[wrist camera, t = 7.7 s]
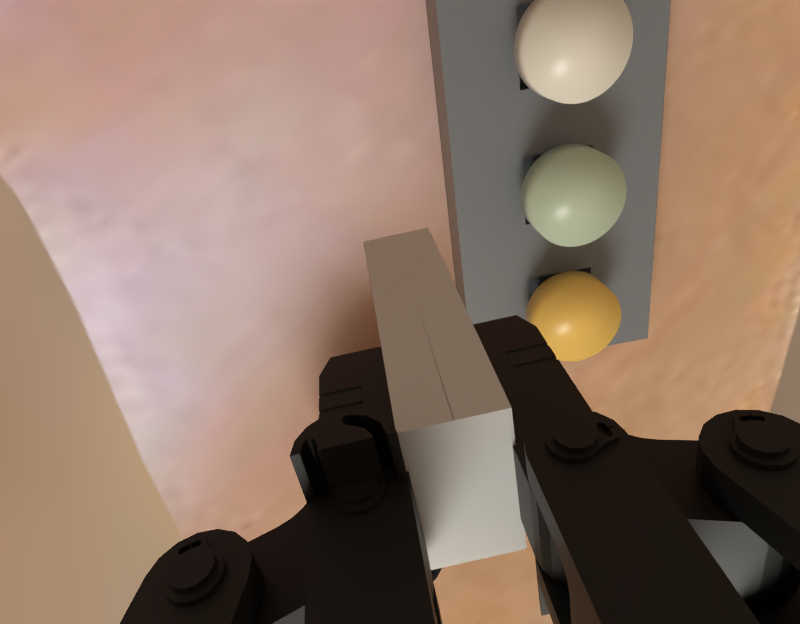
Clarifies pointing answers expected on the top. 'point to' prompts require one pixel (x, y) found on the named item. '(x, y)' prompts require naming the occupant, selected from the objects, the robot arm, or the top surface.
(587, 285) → the button amber
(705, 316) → the top surface
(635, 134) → the panel
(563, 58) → the button cream
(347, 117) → the top surface
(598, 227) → the button sage
